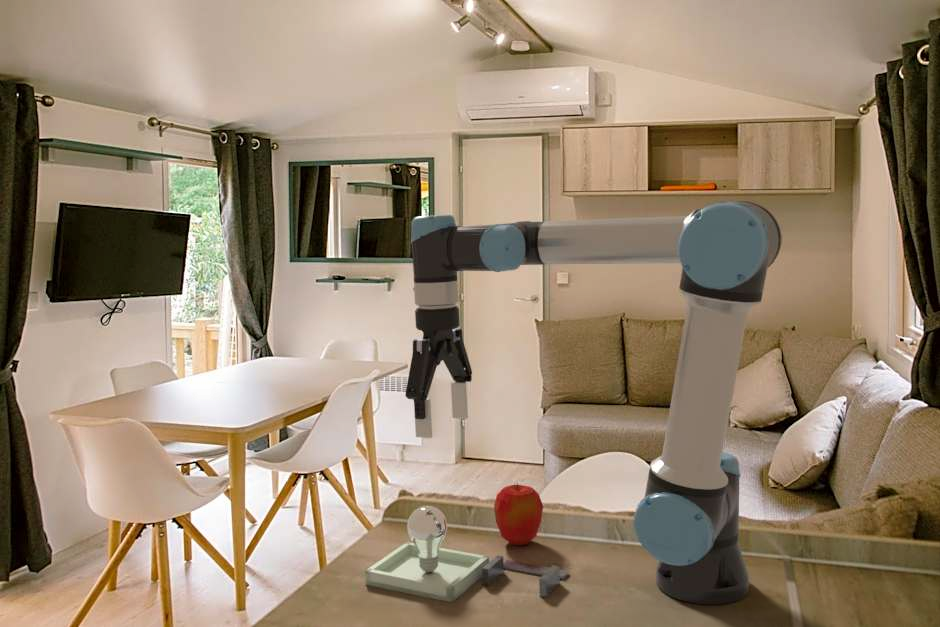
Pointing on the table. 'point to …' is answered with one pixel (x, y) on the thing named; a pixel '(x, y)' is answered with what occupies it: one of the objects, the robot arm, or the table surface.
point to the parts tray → (409, 578)
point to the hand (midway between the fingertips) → (442, 427)
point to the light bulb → (427, 535)
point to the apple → (518, 513)
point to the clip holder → (546, 582)
